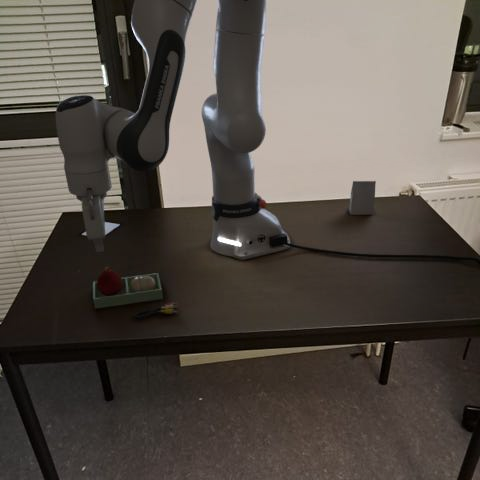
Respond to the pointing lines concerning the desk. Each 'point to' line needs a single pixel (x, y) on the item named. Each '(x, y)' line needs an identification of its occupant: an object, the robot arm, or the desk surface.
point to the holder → (127, 293)
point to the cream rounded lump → (143, 284)
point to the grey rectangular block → (362, 198)
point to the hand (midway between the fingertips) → (100, 241)
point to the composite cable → (158, 311)
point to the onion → (109, 282)
